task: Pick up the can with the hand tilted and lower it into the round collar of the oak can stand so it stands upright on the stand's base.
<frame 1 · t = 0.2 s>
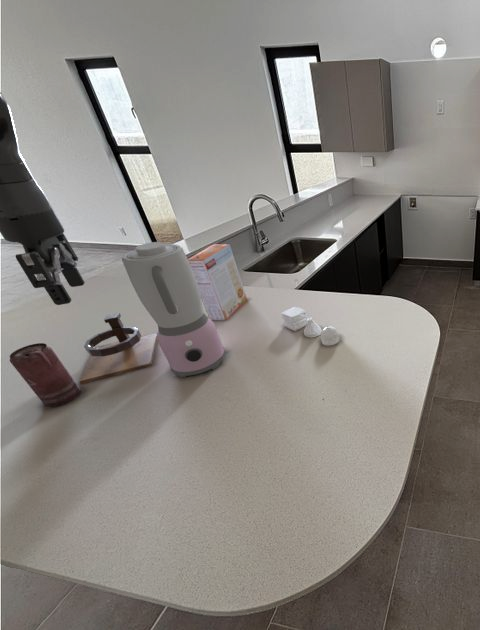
hand: (71, 294, 65), 26 cm above the worktop, tool pointing down, fingers open, 8 cm apart
can: (66, 400, 76), on the worktop
container set: (313, 335, 99), on the worktop
blender: (201, 367, 86), on the worktop
cracker box: (229, 311, 111), on the worktop
stand: (124, 359, 88), on the worktop
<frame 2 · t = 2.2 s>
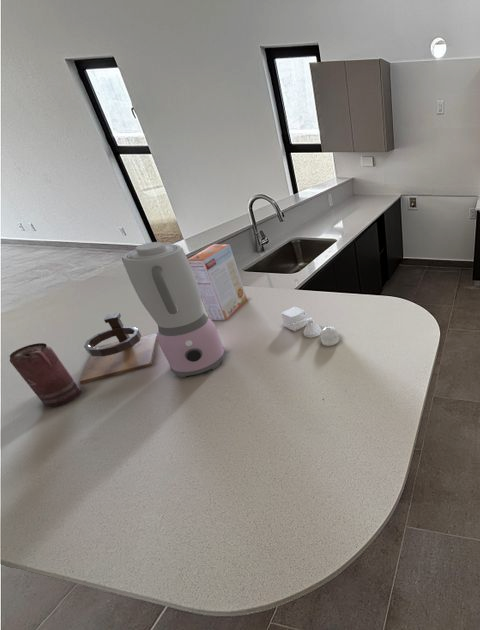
nothing on the worktop moved.
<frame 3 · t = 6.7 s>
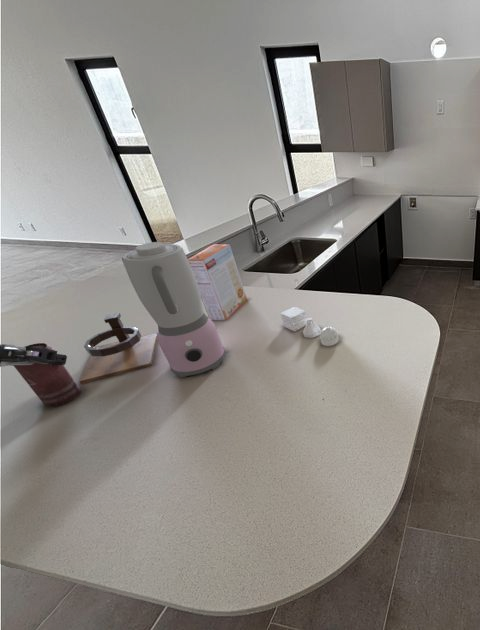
hand: (47, 361, 72), 10 cm above the worktop, tool tilted 45°, fingers closed on can, 6 cm apart
can: (66, 400, 76), on the worktop, touching gripper
everything else where it was.
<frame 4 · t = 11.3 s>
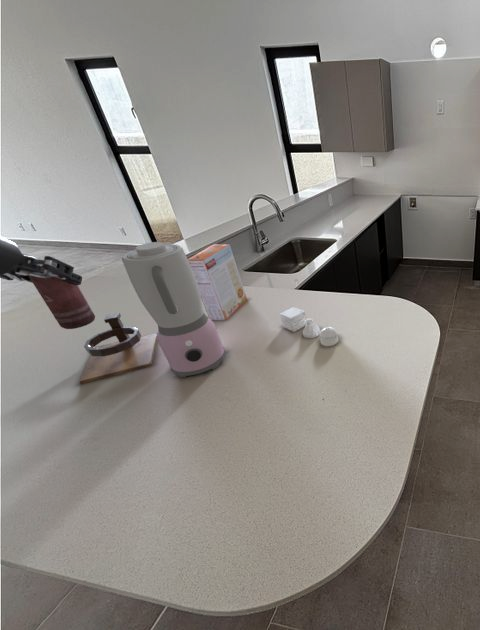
hand: (63, 281, 74), 24 cm above the worktop, tool tilted 45°, fingers closed on can, 6 cm apart
can: (80, 323, 78), point 14 cm above the worktop, touching gripper
everything else where it was.
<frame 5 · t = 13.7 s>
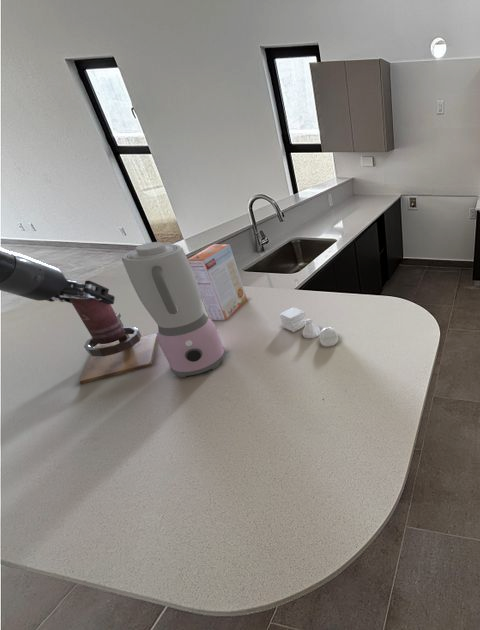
hand: (97, 301, 81), 17 cm above the worktop, tool tilted 45°, fingers closed on can, 6 cm apart
can: (112, 338, 85), point 7 cm above the worktop, touching gripper
everything else where it was.
when the fingers open (11 cm above the worktop, at t = 15.8 s): can stays where it is, resting on stand.
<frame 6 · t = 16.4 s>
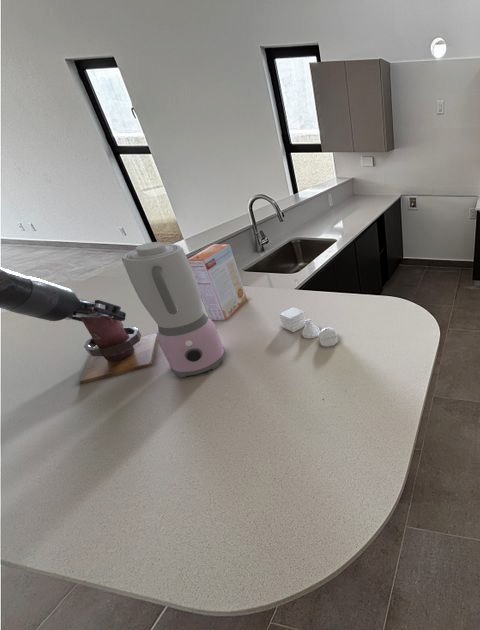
hand: (106, 317, 83), 12 cm above the worktop, tool tilted 45°, fingers open, 8 cm apart
can: (121, 355, 88), point 1 cm above the worktop, touching stand
everything else where it was.
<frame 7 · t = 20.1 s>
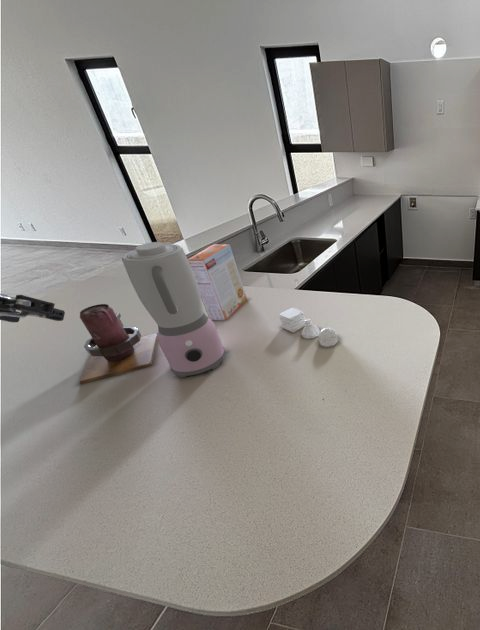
hand: (40, 316, 68), 20 cm above the worktop, tool tilted 45°, fingers open, 8 cm apart
nothing on the worktop moved.
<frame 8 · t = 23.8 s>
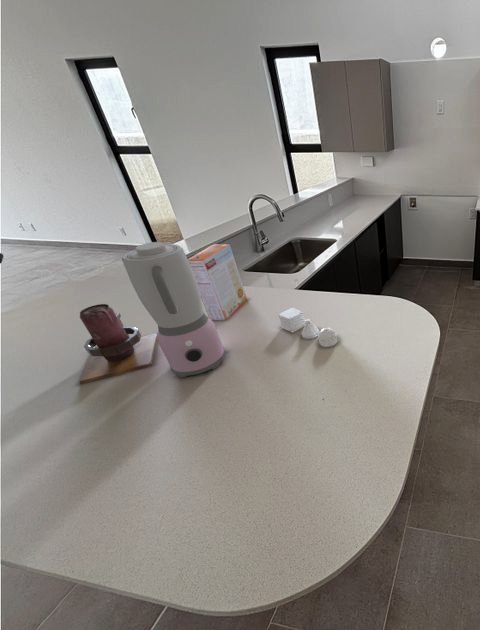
nothing on the worktop moved.
at the end: can 0.2 cm off-centre on the stand, point 1.3 cm above the stand's base; can tilted 0°; the gripper is holding nothing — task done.
